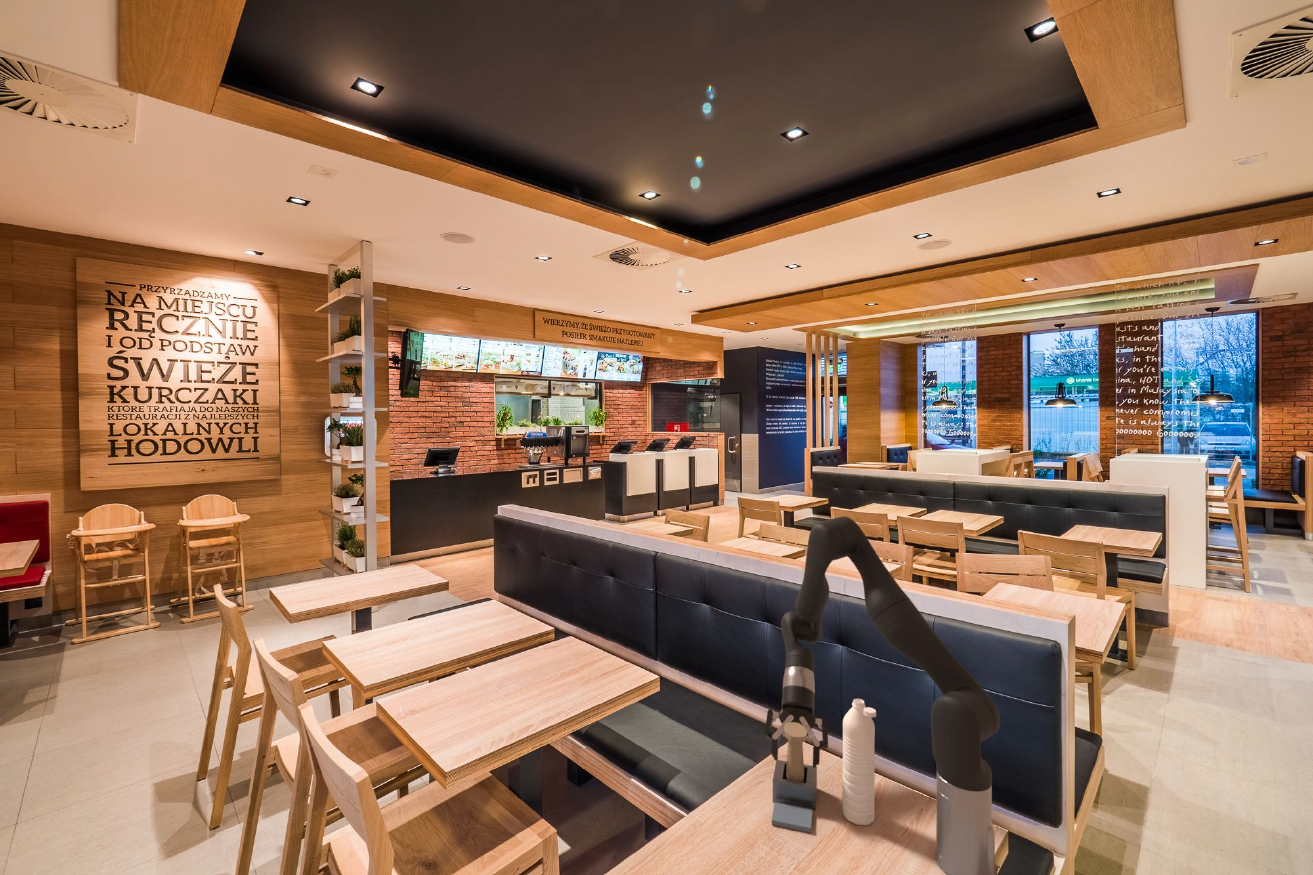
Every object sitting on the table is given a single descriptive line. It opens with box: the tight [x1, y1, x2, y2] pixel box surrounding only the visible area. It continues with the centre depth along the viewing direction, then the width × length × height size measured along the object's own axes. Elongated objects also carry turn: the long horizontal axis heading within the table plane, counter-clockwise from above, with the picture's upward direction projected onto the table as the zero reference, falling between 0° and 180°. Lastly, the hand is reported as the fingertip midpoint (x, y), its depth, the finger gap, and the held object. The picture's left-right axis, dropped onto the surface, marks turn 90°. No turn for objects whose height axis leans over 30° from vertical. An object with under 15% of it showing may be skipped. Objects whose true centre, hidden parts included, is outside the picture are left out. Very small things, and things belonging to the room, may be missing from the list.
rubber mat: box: [771, 802, 813, 834], centre depth 121 cm, size 8×6×1 cm
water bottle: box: [841, 698, 877, 826], centre depth 121 cm, size 9×6×25 cm
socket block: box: [772, 759, 818, 811], centre depth 129 cm, size 9×8×5 cm
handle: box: [784, 722, 808, 783], centre depth 129 cm, size 5×6×15 cm
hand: (794, 762), depth 128 cm, fingers open, 8 cm apart
